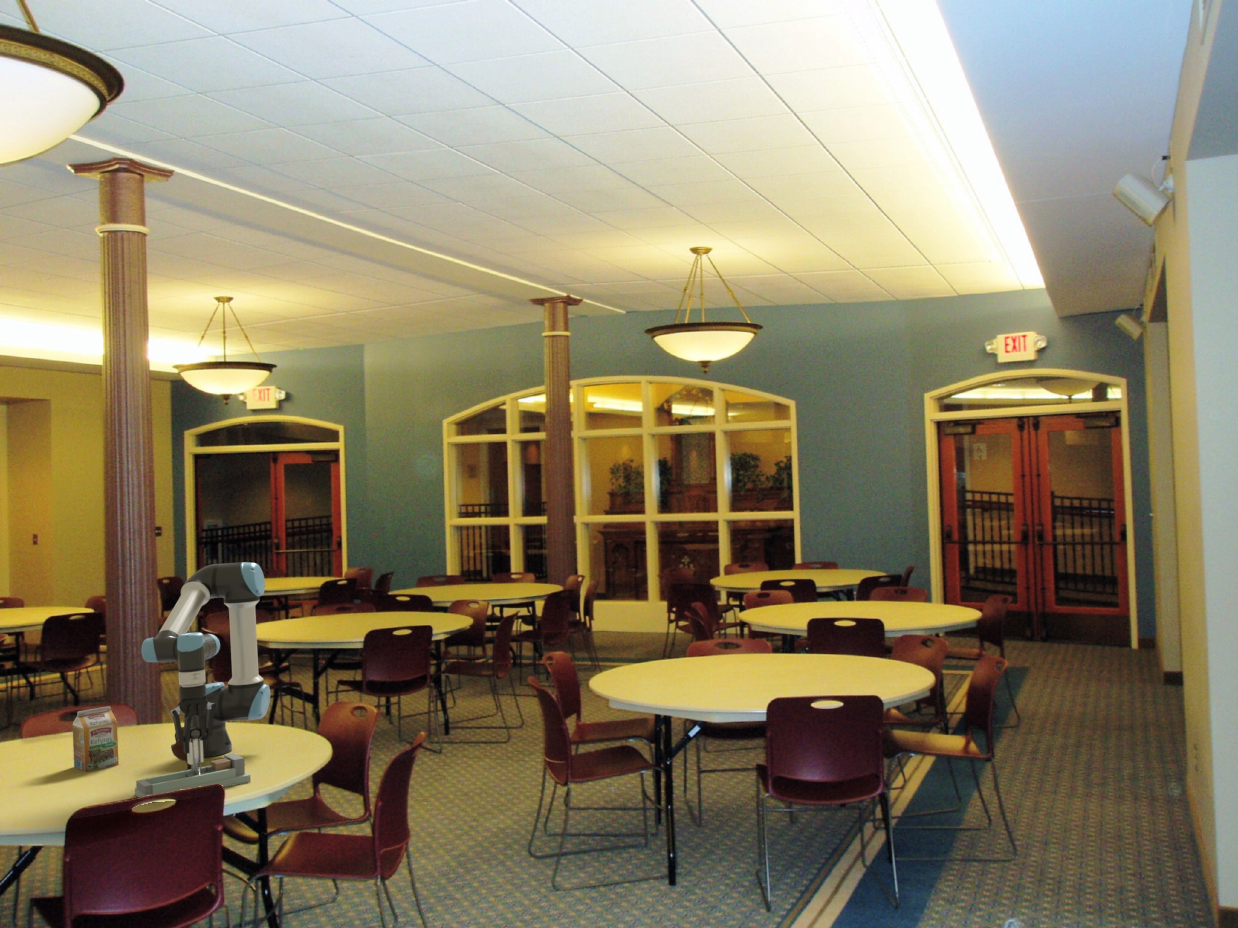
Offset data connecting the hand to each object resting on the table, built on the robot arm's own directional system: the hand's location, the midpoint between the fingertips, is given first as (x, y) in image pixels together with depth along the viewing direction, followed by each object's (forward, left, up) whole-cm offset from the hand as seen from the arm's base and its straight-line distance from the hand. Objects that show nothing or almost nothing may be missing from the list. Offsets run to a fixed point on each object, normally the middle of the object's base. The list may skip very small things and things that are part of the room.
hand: (195, 762), depth 327 cm
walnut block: (0, +7, -6) cm, 9 cm away
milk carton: (-56, -15, -8) cm, 58 cm away
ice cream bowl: (-19, +4, -8) cm, 21 cm away
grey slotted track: (0, -1, -8) cm, 8 cm away
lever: (0, +2, -5) cm, 6 cm away
